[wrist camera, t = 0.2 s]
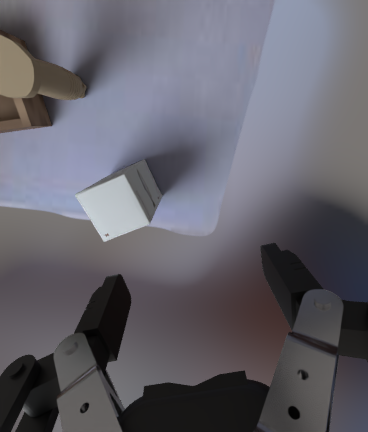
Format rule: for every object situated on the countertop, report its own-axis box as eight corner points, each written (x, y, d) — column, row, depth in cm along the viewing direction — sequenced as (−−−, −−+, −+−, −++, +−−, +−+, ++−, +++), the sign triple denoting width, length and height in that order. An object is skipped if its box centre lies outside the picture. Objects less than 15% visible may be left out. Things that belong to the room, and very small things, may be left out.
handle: (59, 61, 33) (-37, 18, 19) (101, 80, 34) (37, 51, 20) (53, 95, 35) (-38, 78, 21) (93, 113, 36) (30, 107, 22)
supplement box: (163, 196, 41) (151, 226, 29) (127, 210, 42) (102, 244, 30) (145, 157, 38) (124, 173, 26) (108, 173, 39) (72, 195, 28)
